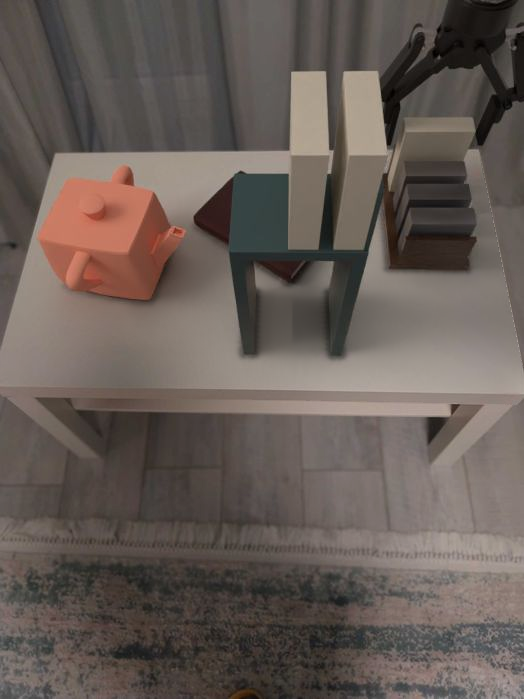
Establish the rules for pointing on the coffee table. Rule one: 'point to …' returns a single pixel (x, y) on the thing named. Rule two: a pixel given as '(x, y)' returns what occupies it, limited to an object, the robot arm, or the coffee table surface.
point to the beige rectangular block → (431, 142)
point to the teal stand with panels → (314, 198)
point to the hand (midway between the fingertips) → (432, 139)
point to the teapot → (108, 237)
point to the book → (217, 223)
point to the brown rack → (429, 216)
